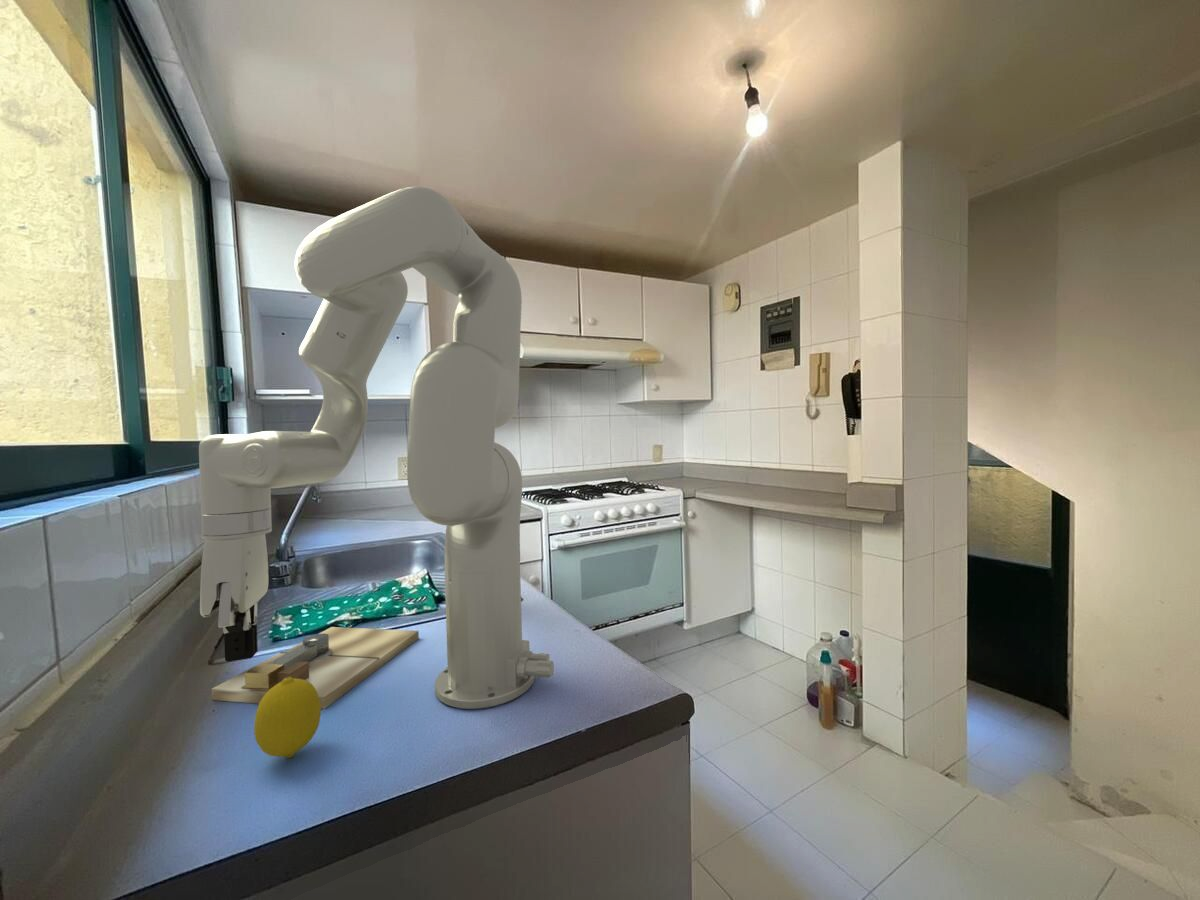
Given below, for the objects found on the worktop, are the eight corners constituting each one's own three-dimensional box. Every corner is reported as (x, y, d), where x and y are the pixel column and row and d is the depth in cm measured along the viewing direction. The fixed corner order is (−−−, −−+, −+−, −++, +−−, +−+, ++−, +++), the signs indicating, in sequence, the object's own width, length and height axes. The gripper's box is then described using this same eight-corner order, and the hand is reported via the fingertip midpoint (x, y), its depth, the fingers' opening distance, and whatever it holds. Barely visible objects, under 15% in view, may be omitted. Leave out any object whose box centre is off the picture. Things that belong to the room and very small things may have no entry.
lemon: (289, 780, 43) (286, 695, 42) (240, 773, 44) (237, 690, 44) (334, 741, 48) (332, 666, 48) (290, 736, 49) (288, 663, 49)
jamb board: (418, 638, 74) (418, 617, 74) (324, 708, 54) (323, 680, 54) (331, 633, 77) (331, 613, 77) (212, 699, 57) (211, 672, 57)
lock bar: (314, 646, 67) (313, 633, 67) (334, 647, 67) (333, 633, 67) (245, 687, 56) (244, 671, 56) (268, 688, 56) (268, 672, 56)
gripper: (226, 518, 68) (230, 640, 68) (174, 536, 54) (179, 690, 54) (286, 514, 70) (289, 632, 71) (250, 531, 56) (254, 677, 57)
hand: (241, 657), depth 62 cm, fingers closed
